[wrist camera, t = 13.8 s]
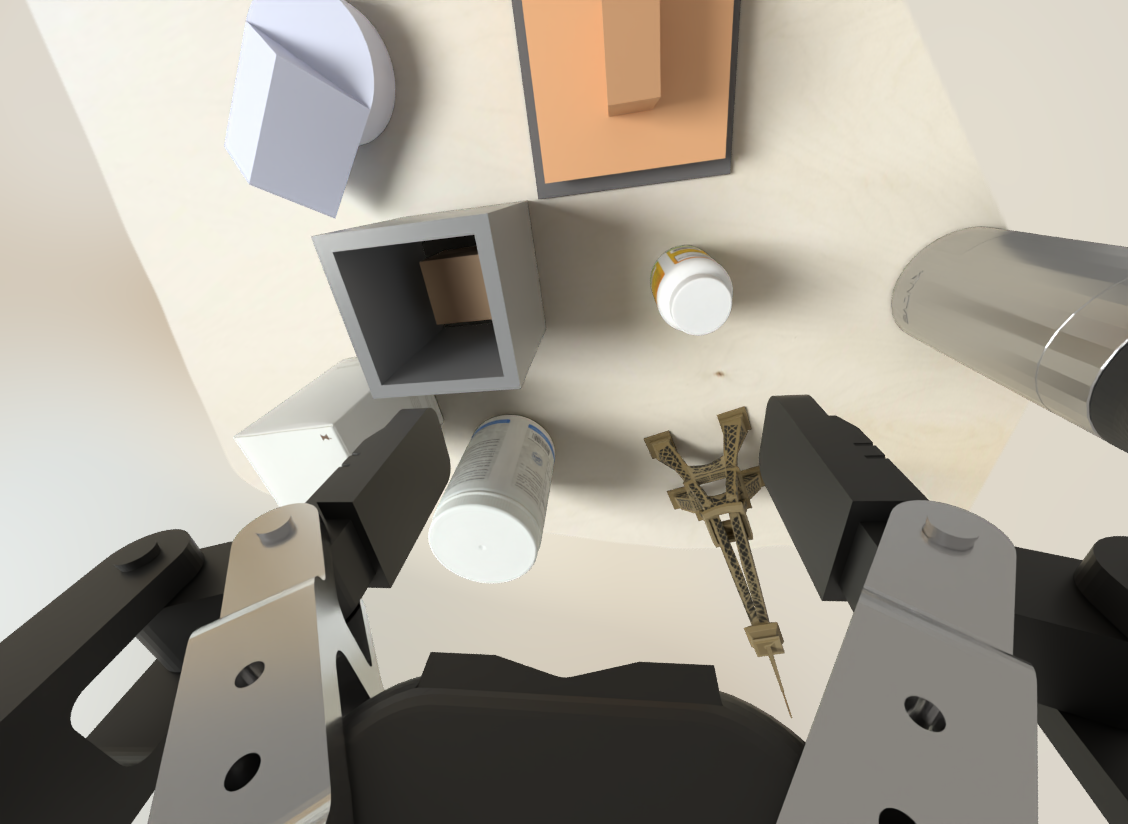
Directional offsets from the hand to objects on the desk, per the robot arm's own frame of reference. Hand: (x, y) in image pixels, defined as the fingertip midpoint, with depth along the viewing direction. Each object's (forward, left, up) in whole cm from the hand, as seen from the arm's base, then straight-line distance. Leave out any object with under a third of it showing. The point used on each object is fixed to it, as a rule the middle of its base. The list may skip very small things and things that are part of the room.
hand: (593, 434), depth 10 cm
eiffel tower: (-9, +23, -30) cm, 39 cm away
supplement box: (+24, +12, -30) cm, 40 cm away
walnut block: (+12, +1, -30) cm, 32 cm away
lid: (-2, -12, -29) cm, 32 cm away
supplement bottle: (-6, +3, -30) cm, 31 cm away
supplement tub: (+12, +20, -30) cm, 38 cm away
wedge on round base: (+21, -13, -30) cm, 39 cm away
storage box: (+12, +1, -30) cm, 32 cm away
